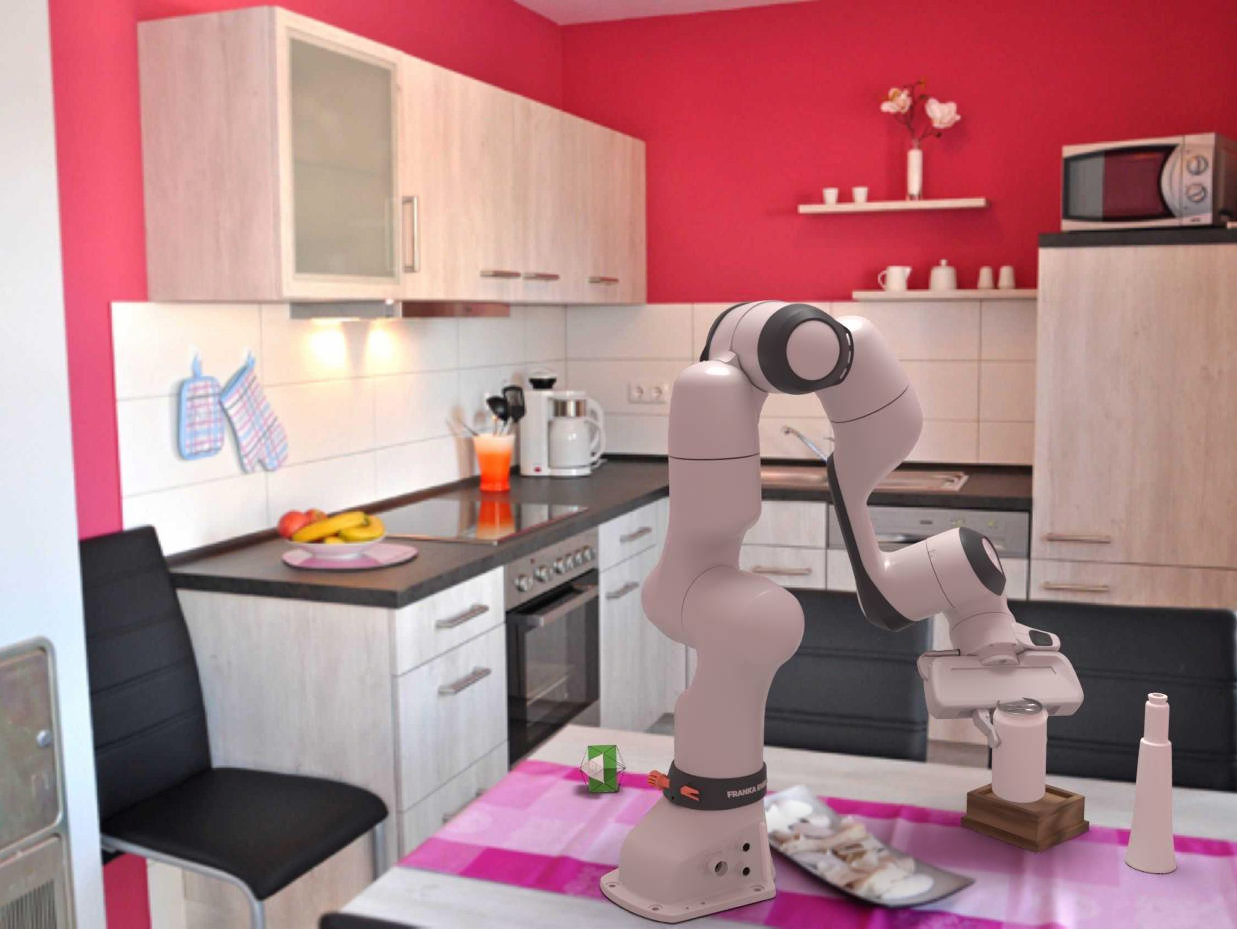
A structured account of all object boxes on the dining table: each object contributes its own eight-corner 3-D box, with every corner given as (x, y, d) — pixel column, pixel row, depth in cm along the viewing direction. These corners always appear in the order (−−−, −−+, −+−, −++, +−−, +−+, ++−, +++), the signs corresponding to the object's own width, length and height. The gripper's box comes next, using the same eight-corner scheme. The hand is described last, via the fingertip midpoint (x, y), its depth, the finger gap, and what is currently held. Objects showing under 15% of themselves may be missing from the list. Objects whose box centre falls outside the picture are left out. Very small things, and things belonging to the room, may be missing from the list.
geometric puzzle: (578, 763, 198) (578, 732, 192) (623, 762, 198) (625, 731, 193) (579, 805, 193) (580, 775, 187) (626, 804, 193) (628, 773, 188)
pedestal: (1037, 853, 170) (1039, 818, 169) (960, 825, 179) (961, 792, 178) (1089, 829, 177) (1090, 796, 177) (1012, 804, 186) (1013, 772, 186)
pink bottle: (1114, 858, 168) (1121, 691, 165) (1151, 851, 170) (1159, 686, 168) (1148, 877, 162) (1156, 704, 160) (1187, 869, 164) (1195, 699, 162)
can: (1050, 805, 163) (1052, 715, 160) (997, 805, 164) (998, 716, 161) (1038, 781, 169) (1040, 694, 167) (986, 781, 170) (988, 695, 167)
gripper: (921, 638, 168) (948, 735, 160) (1069, 635, 172) (1104, 730, 163) (906, 663, 173) (932, 759, 165) (1051, 659, 176) (1084, 754, 168)
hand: (1019, 745), depth 164 cm, fingers closed on can, 4 cm apart
